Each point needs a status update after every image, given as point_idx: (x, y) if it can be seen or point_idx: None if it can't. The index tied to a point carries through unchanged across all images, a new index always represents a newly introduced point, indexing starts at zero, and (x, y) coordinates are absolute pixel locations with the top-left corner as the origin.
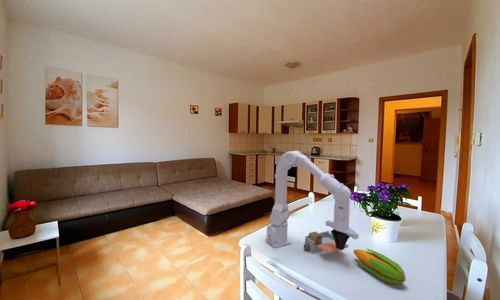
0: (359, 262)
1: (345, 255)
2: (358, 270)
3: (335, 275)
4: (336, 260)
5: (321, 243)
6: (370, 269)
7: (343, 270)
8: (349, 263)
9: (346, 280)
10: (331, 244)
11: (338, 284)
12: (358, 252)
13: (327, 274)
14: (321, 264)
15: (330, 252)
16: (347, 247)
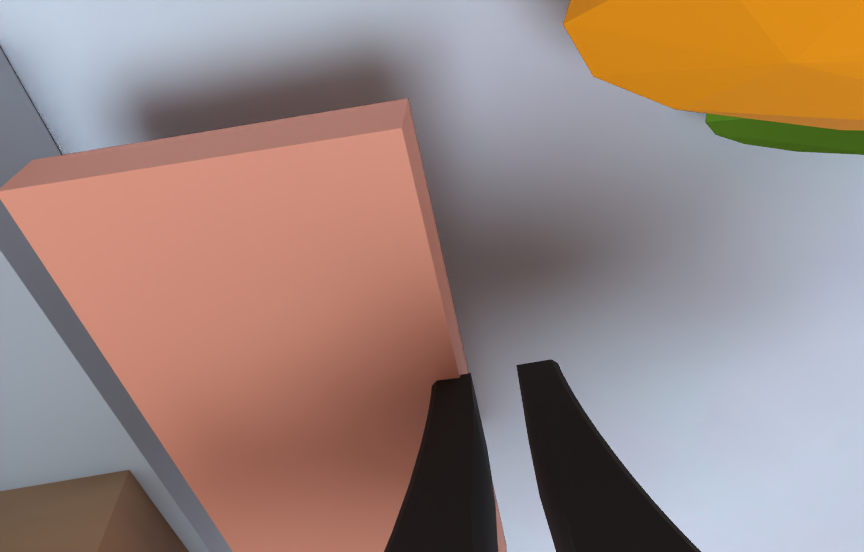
0: (862, 153)
1: (389, 78)
2: (843, 179)
3: (733, 477)
4: (487, 321)
5: (128, 480)
6: None
7: (717, 365)
8: (635, 187)
9: (859, 431)
10: (267, 436)
11: (843, 512)
12: (831, 121)
13: (677, 525)
14: (503, 504)
15: (500, 527)
16: (413, 130)
